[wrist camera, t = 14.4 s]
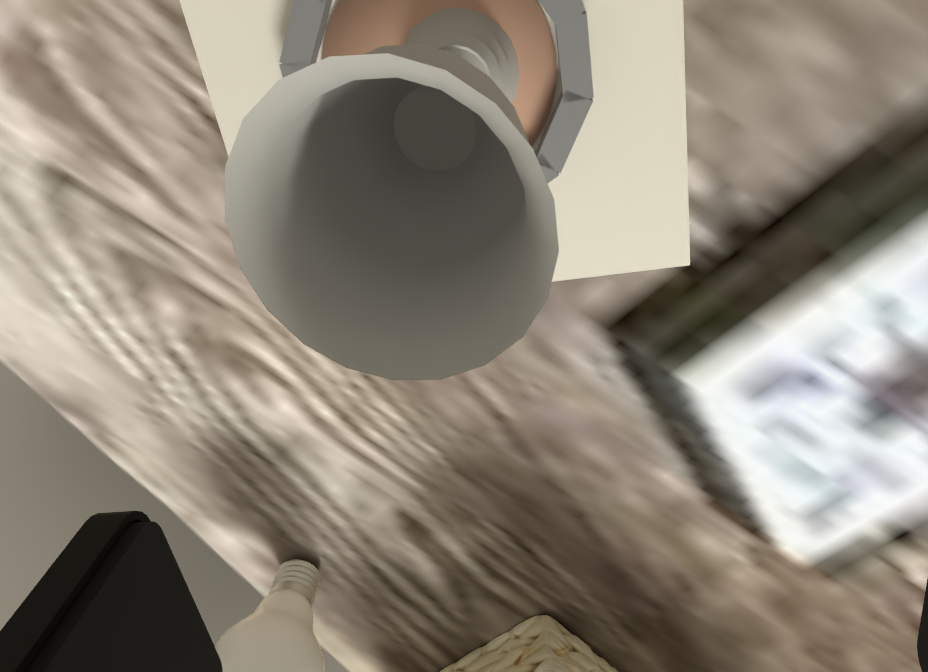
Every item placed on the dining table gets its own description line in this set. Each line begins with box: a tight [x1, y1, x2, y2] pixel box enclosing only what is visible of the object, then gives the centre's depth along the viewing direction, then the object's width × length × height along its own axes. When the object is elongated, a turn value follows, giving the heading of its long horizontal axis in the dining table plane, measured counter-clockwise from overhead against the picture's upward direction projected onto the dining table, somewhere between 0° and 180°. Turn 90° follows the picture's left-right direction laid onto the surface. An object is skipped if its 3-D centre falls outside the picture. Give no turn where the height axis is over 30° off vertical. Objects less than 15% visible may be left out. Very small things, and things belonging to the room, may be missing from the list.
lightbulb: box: [214, 559, 324, 672], centre depth 43 cm, size 6×6×11 cm
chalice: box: [225, 8, 559, 380], centre depth 24 cm, size 7×7×18 cm
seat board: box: [180, 0, 690, 282], centre depth 32 cm, size 20×20×2 cm
